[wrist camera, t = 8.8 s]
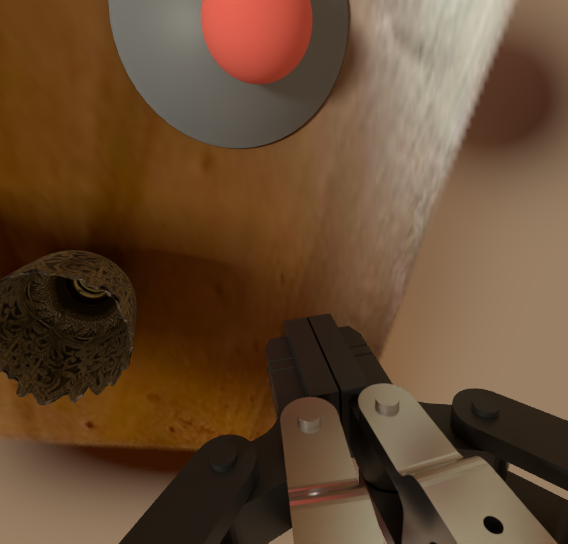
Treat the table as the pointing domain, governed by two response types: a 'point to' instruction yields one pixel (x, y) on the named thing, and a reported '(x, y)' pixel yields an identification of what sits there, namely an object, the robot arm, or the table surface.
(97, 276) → the cup
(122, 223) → the table surface
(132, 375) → the table surface
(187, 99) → the gray disc
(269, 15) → the ball
